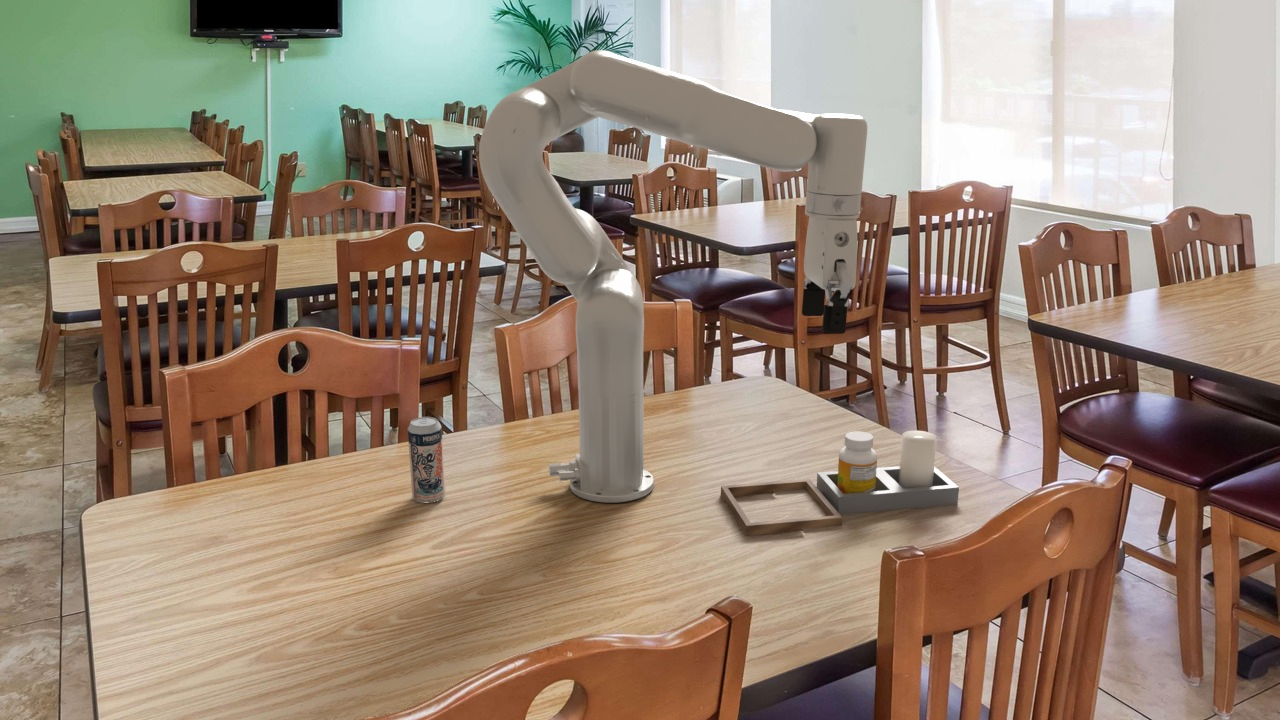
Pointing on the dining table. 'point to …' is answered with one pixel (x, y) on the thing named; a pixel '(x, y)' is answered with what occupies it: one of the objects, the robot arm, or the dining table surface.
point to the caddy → (888, 493)
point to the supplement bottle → (857, 464)
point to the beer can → (426, 459)
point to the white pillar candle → (917, 459)
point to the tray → (779, 525)
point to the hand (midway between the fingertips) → (822, 324)
